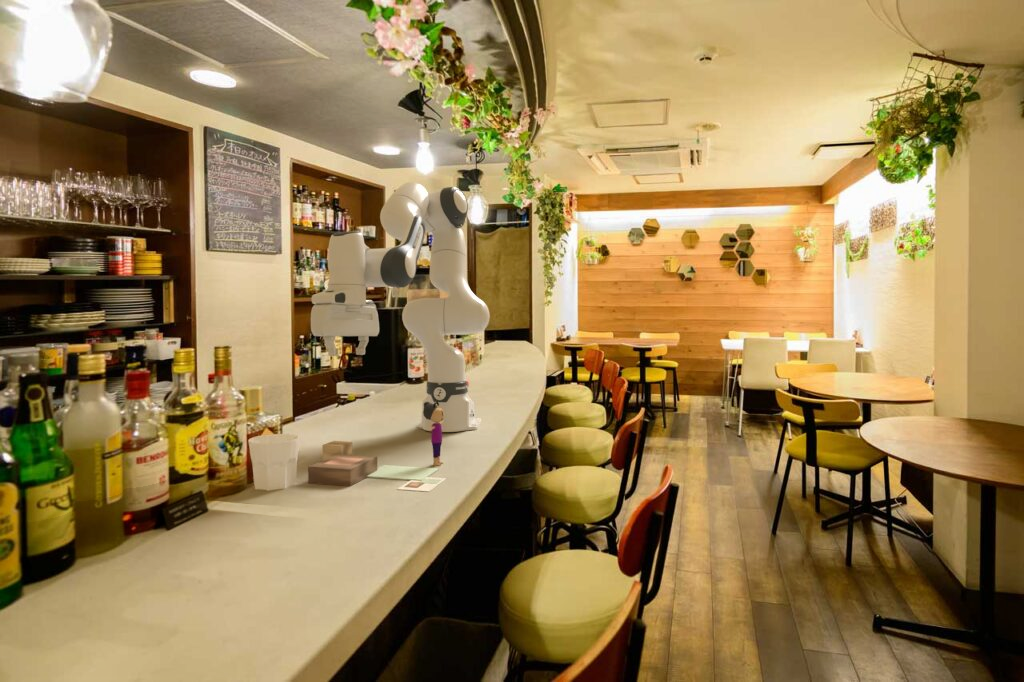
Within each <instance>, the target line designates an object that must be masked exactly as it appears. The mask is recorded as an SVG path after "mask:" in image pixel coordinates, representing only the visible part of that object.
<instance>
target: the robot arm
mask: <svg viewBox="0 0 1024 682" xmlns="http://www.w3.org/2000/svg"><path fill="white" fill-rule="evenodd" d="M468 210H469V204H468V199H467V197H466V195H465V193H464V192H463V191H462V190H461V189H460V188H459V187H456V186H447V187H443V188H442V189H438V190H434V191H431V192H428V191H427V189H426V187H424V185H422V184H420V183H418V182H415V181H408V182H405V183H404V184H402V185H400V187H398V188H397V189H396V190H395V191H394V192H393V193H392V194H391V195H390V196H389V198H388V199H387V200H386V202H385V203H384V204H383V206H382V208H381V210H380V214H379V219H380V224H381V226H382V228H383V230H384V231H385V232H386V234H387V235H388V236H390V237H392V238H393V239H395V240H398V241H400V243H399V244H397V245H396V246H393V247H382V248H370V247H369V246H367V245H366V243H365V239H364V235H363V233H362V232H361V231H358V230H351V231H336V232H334V233H333V234H331V236H330V239H329V242H328V248H327V249H328V252H327V269H328V273H329V279H328V282H327V290H323V291H320V292H317V293H315V294H313V295H312V296H311V303H312V304H313V306H312V308H311V312H310V330H311V331H310V332H311V334H312V335H313V336H314V337H323V340H324V343H325V345H326V347H327V355H328V356H329V357H338V356H339V348H338V347H336V344H335V341H336V337H358V339H357V340H358V341H359V344H358V346H357V347H355V355H357V356H363V355H366V347H367V346H368V343H369V341H370V340H369V337H378V335H379V334H380V321H379V314H378V310H377V305H376V304H375V302H374V301H373V300H372V299H367V288H381V287H386V288H387V287H391V288H407V286H409V285H410V284H411V283H412V281H413V280H414V278H415V277H416V273H417V268H418V267H417V265H418V259H419V256H420V254H421V250H422V246H423V243H424V240H425V235H426V234H427V233H431V234H432V239H433V240H432V242H431V243H432V244H431V247H430V248H431V249H430V260H429V261H430V263H429V281H430V283H431V284H432V285H433V287H435V288H436V289H437V290H439V291H440V292H443V293H444V294H447V295H448V297H423V298H422V297H421V298H417V299H412V300H408V302H406V304H405V306H404V308H403V309H402V313H401V317H402V318H401V320H402V322H403V326H404V328H405V329H406V330H407V331H408V333H410V334H412V335H413V336H414V337H415V338H416V339H417V340H418V341H419V343H420V345H421V346H422V348H423V349H424V353H425V357H426V365H427V381H426V385H425V388H426V394H427V395H426V397H425V398H423V400H422V402H421V403H422V404H421V405H422V406H421V419H420V420H421V422H418V423H417V428H419V429H423V430H424V431H428V432H431V430H429V428H431V427H432V424H434V423H436V422H433V421H431V420H428V419H426V418H425V417H424V414H423V410H424V403H425V402H429V403H432V404H434V403H436V402H438V403H439V406H437V404H436V406H437V407H438V408H441V409H442V410H443V411H444V418H443V420H441V421H440V422H442V421H444V423H443V424H441V426H442V433H454V432H463V431H473V430H474V431H476V430H478V429H479V427H480V424H481V423H482V420H483V419H482V418H481V417H476V410H475V403H474V401H473V400H472V399H471V397H470V396H469V394H468V392H469V390H468V388H469V386H470V382H469V380H466V357H465V355H464V353H463V352H462V351H461V350H460V349H458V348H456V347H454V346H452V345H450V344H448V343H447V342H446V340H445V336H447V335H448V336H449V335H454V336H455V335H457V336H459V335H461V336H462V335H464V336H465V335H473V334H478V333H482V332H483V331H484V330H486V328H487V327H488V326H489V323H490V318H491V316H490V315H491V314H490V310H489V307H488V305H487V303H485V302H484V300H482V299H481V298H479V297H478V296H477V295H476V294H475V293H474V292H473V291H472V290H471V288H470V285H469V282H468V278H467V277H468V276H467V244H466V237H465V233H464V231H463V229H462V228H463V226H464V225H465V223H466V218H467V216H468ZM440 422H438V423H440Z"/></svg>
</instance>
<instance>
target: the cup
mask: <svg viewBox="0 0 1024 682" xmlns="http://www.w3.org/2000/svg"><path fill="white" fill-rule="evenodd" d="M300 438H301V437H300V435H298V434H293V433H273V434H263V435H257V436H253V437H251V438H249V439H248V441H247V442H248V446H249V455H250V460H251V465H252V475H253V485H254V490H261V491H262V490H263V491H264V490H265V491H267V492H270V491H277V490H286V488H290V487H292V486H296V485H297V470H298V469H297V468H298V457H299V446H300Z"/></svg>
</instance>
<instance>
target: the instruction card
mask: <svg viewBox="0 0 1024 682" xmlns="http://www.w3.org/2000/svg"><path fill="white" fill-rule="evenodd" d="M446 480H447V478H446V477H445V478H444V477H442V478H441V477H432V476H429V477H427V478H425V479H423V480H420V481H419V480H408V482H406V483H404V484H402V485H401V486H399V487H398V488H397V490H398V491H399V490H400V491H401V490H402V491H413V492H414V491H416V492H428V493H429V492H431V491H432V490H433V489H435V488H436V487H438V486H439V485H440V484H441V483H443V482H444V481H446Z"/></svg>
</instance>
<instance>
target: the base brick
mask: <svg viewBox="0 0 1024 682" xmlns="http://www.w3.org/2000/svg"><path fill="white" fill-rule="evenodd" d="M377 468H378V456H376V455H375V456H374V455H357V454H355V455H354V454H352V455H342V454H337V455H335V456H332V457H330V458H328V459H325V460H323V459H322V460H321V461H319V462H317V463H313V464H311V465H309V466H308V467H307V470H308V471H307V474H308V481H307V482H308V484H317V485H332V486H345V487H347V486H348V487H352V486H353V485H356V484H358V483H359V482H361V481H363V480H365V479H366V478H368V477H367V476H368V475H370V474H372V473H374V472H375V471H377Z"/></svg>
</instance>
